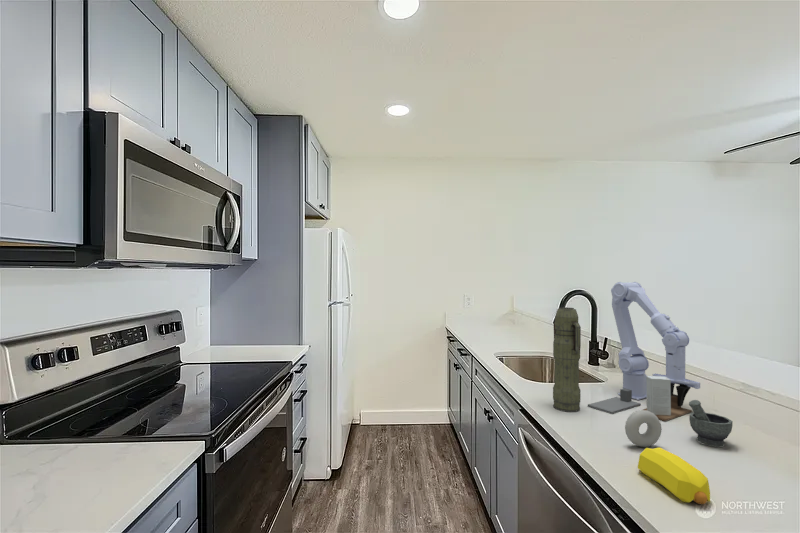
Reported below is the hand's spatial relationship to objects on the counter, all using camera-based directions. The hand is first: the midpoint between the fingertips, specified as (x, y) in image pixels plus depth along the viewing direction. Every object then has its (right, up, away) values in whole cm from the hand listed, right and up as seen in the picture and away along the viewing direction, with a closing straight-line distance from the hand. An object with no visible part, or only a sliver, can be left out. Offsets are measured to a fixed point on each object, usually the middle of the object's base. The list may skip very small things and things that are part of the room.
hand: (675, 404), depth 146 cm
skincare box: (-10, -1, -7) cm, 12 cm away
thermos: (-38, -1, 0) cm, 38 cm away
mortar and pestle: (-10, -1, -29) cm, 30 cm away
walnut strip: (-6, -2, -4) cm, 8 cm away
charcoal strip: (-20, -1, +3) cm, 20 cm away
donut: (-30, -1, -32) cm, 44 cm away
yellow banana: (-36, -1, -53) cm, 64 cm away
